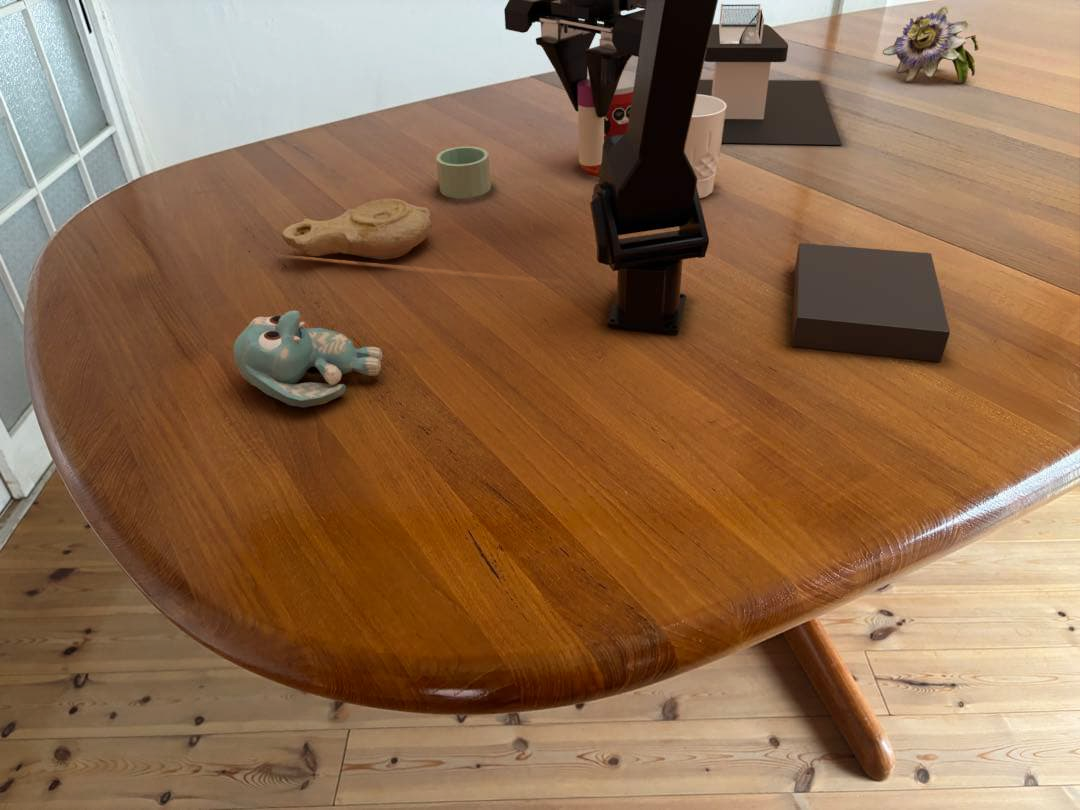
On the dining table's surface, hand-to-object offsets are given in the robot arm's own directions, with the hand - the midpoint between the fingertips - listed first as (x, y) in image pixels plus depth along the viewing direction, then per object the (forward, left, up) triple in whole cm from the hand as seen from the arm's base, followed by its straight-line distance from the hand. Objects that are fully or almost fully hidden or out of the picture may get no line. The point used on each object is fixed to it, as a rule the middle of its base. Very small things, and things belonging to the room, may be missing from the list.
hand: (591, 113), depth 83 cm
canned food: (+18, +1, -13) cm, 22 cm away
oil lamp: (-10, +22, -13) cm, 28 cm away
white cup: (+13, -9, -13) cm, 20 cm away
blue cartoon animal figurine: (-32, +17, -13) cm, 39 cm away
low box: (-12, -28, -13) cm, 33 cm away
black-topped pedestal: (+43, -13, -13) cm, 47 cm away
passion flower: (+63, -41, -13) cm, 76 cm away
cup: (+8, +17, -13) cm, 23 cm away
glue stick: (0, 0, -5) cm, 5 cm away
